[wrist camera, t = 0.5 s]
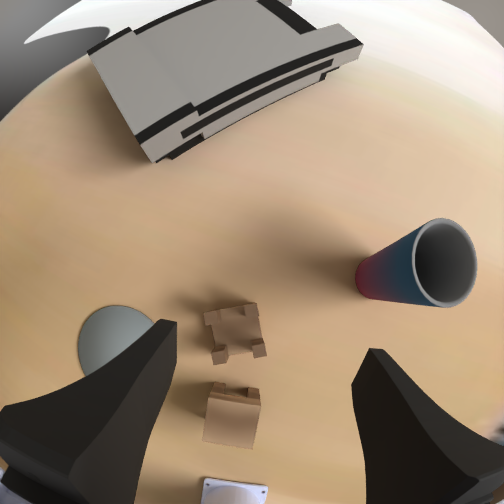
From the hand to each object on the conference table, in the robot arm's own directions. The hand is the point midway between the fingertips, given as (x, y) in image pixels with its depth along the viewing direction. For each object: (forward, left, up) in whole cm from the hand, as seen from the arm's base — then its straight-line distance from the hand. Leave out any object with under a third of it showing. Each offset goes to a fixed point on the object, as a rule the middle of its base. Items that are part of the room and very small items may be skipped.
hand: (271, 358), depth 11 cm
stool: (-10, +1, -23) cm, 25 cm away
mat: (-7, +15, -23) cm, 29 cm away
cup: (+7, -13, -23) cm, 28 cm away
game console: (+34, +10, -24) cm, 42 cm away
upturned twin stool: (-1, +2, -23) cm, 23 cm away
